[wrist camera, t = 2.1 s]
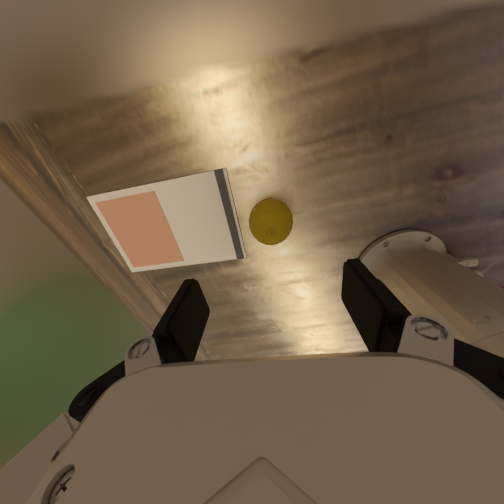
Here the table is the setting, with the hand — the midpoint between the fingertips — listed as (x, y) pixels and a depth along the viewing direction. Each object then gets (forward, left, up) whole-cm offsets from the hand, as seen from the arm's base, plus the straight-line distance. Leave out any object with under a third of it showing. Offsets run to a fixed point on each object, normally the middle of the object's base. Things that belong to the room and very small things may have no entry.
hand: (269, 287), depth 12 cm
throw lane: (+16, 0, -17) cm, 23 cm away
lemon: (0, 0, -17) cm, 17 cm away
